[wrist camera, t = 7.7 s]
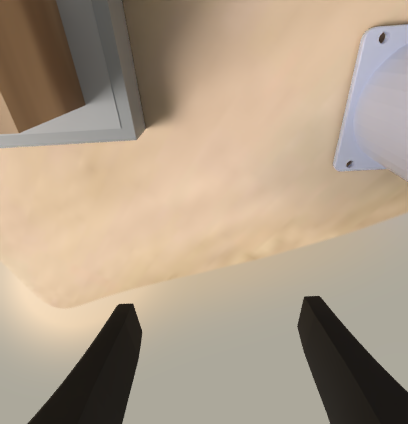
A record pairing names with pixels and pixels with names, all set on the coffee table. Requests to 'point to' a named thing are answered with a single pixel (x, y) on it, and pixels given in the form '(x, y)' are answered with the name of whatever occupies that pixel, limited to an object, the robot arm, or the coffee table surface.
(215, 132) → the coffee table surface
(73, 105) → the walnut block
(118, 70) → the plinth
